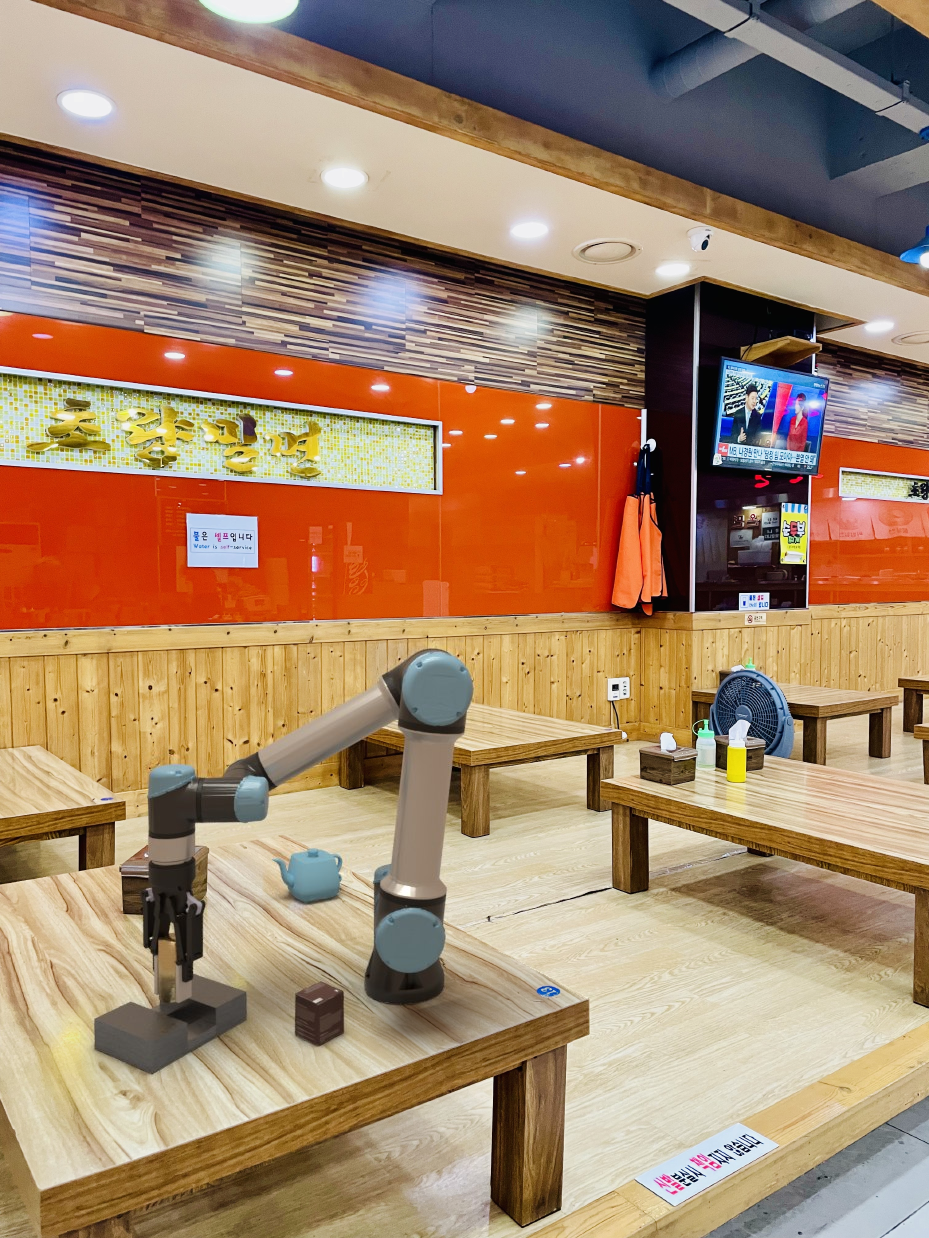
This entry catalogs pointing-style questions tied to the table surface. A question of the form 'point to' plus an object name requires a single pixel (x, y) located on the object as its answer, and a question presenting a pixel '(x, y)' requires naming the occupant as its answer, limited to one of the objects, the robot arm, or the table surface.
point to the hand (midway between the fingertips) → (172, 994)
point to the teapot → (312, 875)
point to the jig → (170, 1025)
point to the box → (319, 1013)
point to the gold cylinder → (167, 967)
